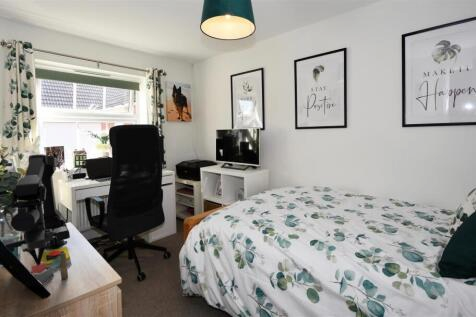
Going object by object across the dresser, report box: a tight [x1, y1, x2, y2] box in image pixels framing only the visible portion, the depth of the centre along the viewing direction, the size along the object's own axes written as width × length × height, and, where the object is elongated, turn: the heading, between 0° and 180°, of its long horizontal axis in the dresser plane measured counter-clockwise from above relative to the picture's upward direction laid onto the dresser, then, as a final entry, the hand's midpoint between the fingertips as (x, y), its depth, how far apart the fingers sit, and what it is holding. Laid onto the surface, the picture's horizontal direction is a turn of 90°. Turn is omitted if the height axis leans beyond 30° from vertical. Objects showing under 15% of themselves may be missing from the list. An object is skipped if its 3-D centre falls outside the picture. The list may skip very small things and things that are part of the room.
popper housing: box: [30, 266, 55, 285], centre depth 89 cm, size 5×5×4 cm
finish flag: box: [52, 253, 69, 281], centre depth 88 cm, size 5×2×9 cm, turn 176°
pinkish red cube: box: [31, 262, 46, 275], centre depth 89 cm, size 4×4×4 cm
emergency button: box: [41, 246, 73, 272], centre depth 102 cm, size 9×4×15 cm
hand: (38, 263), depth 89 cm, fingers closed, pressing on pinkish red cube
